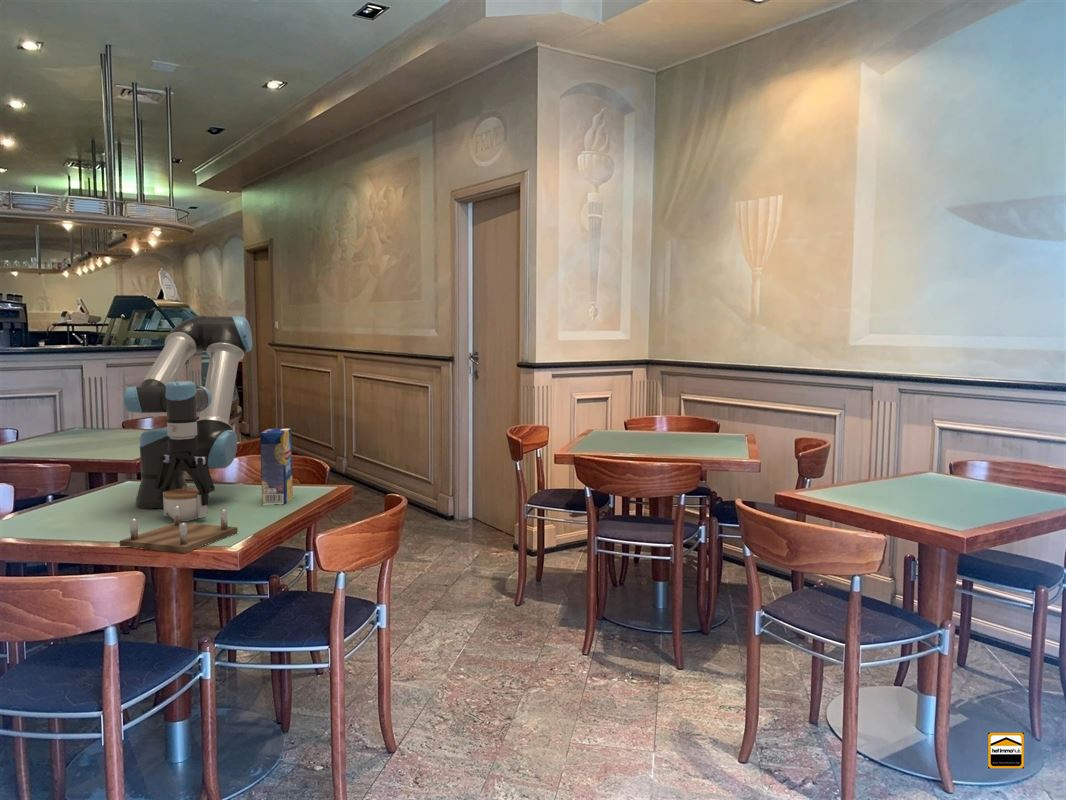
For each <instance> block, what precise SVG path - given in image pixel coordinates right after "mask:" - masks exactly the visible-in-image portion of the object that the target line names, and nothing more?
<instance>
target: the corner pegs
mask: <svg viewBox="0 0 1066 800" xmlns="http://www.w3.org/2000/svg"><path fill="white" fill-rule="evenodd" d="M219 512H220V526H221V529H222V530H225V529H228V527H229V526H228V509H227V508H221V509H220V511H219ZM173 523H174V525H179V526H180V544H181V545H185V544H188V542H187V523H188V522H187V521H183V522H182V523H181V512H180V505H176V506H174V519H173ZM129 526H130V528H129V531H130V537H131V540H136V539H138V535H139V527H138V518H137V517H136V518H135V517H133V518H129Z"/></svg>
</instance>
